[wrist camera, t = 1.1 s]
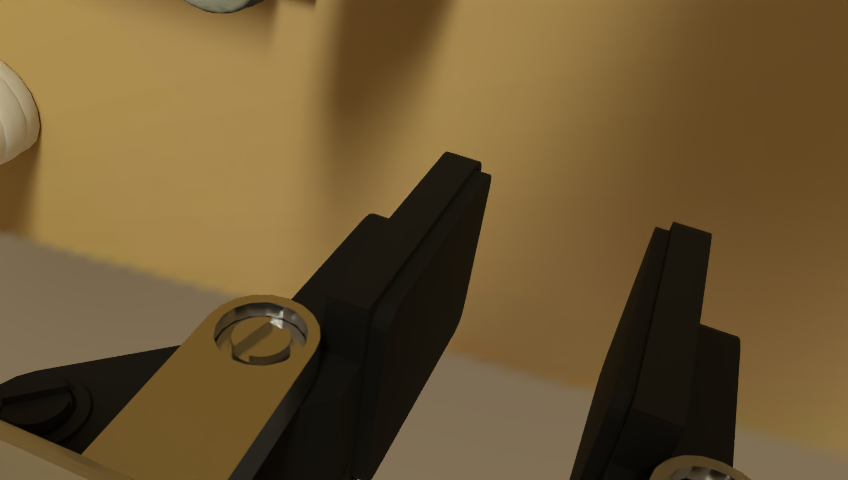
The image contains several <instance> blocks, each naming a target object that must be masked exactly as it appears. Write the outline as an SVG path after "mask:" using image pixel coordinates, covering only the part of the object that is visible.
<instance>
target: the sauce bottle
mask: <svg viewBox="0 0 848 480" xmlns="http://www.w3.org/2000/svg"><path fill="white" fill-rule="evenodd" d="M185 1H186V2H188V3H189V4H191V5H193V6H195V7H197V8H199V9H202V10H204V11H206V12H212V13H232V12H236V11H240V10H242V9H244V8H246V7H250V6H253V5H255V4H257V3H260V2H262V1H263V0H185Z"/></svg>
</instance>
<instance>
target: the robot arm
mask: <svg viewBox="0 0 848 480" xmlns="http://www.w3.org/2000/svg"><path fill="white" fill-rule="evenodd" d="M490 183H491V175H490V174H486V173H483V172H481V162H479V161H476V160H473V159H470V158H467V157H463V156H460V155H457V154H454V153H450V152H445V153H444V154H443V155H442V156H441V157H440V159H439V160H438V161H437V162H436V163H435V165H434V166H433V167H432V168H431V169H430V171H429V172H428V173H427V174H426V175H425V176H424V178H423V179H422V180H421V181H420V182H419V184H418V185H417V186H416V187H415V188H414V190H413V191H412V192H411V193H410V194H409V195H408V197H407V198H406V199H405V200H404V201H403V203H402V204H401V205H400V206H399V207H398V209H397V210H396V211H395V212H394V213H393V214H392V216H391V217H390V218H386V217H383V216H380V215H377V214H369V215H368V216H366V217H365V218H364V219H363V220H362V221H361V222H360V224H359V225H358V226H357V227H356V228H355V229H354V230H353V231H352V232H351V234H350V235H349V236H348V237H347V238H346V239H345V240H344V241H343V243H342V244H341V245H340V246H339V247H338V248H337V249H336V250H335V251H334V253H333V254H332V255H331V256H330V257H329V258H328V259H327V260H326V261H325V263H324V264H323V265H322V266H321V267H320V268H319V269H318V270H317V272H316V273H315V274H314V275H313V276H312V277H311V278H310V279H309V280H308V282H307V283H306V284H305V285H304V286H303V287H302V288H301V289H300V290H299V292H298V293H297V294H296V295H295V296H294V297H293V298H292V299H291V300H290V299H288V298H284V297H279V296H274V295H250V296H245V297H240V298H236V299H233V300H231V301H229V302H226V303H224V304H222V305H220V306H219V307H218V308H217V309H215V310H214V311H213V312H212V313H210V314H209V315H208V316H207V318H206V319H205V320H204V321H203V322H202V323H201V324H200V325H199V326H198V327H197V328H196V330H195V331H194V332H193V333H192V334H191V335H190V336H189V337H188V338H187V339H186V340H185V342H184V343H183V344H182V345H179V346H173V347H168V348H162V349H156V350H151V351H146V352H140V353H134V354H128V355H123V356H117V357H112V358H106V359H100V360H95V361H89V362H84V363H78V364H72V365H67V366H61V367H55V368H50V369H44V370H38V371H34V372H30V373H27V374H24V375H20V376H16V377H14V378H13V379H10V380H8V381H6V382H4V383H2V384H0V480H357V479H360V480H371V479H372V478H373V476H374V474H375V473H376V471H377V469H378V467H379V465H380V464H381V462H382V460H383V458H384V457H385V455H386V453H387V451H388V450H389V448H390V446H391V444H392V442H393V441H394V439H395V437H396V435H397V434H398V432H399V430H400V428H401V426H402V424H403V423H404V421H405V419H406V418H407V416H408V414H409V412H410V410H411V409H412V407H413V405H414V403H415V402H416V400H417V398H418V396H419V394H420V393H421V391H422V389H423V387H424V386H425V384H426V382H427V380H428V378H429V377H430V375H431V373H432V371H433V370H434V368H435V366H436V364H437V362H438V361H439V359H440V357H441V355H442V354H443V352H444V350H445V348H446V346H447V345H448V343H449V341H450V339H451V338H452V336H453V334H454V332H455V330H456V328H457V326H458V324H459V321H460V318H461V315H462V312H463V308H464V304H465V299H466V295H467V290H468V285H469V281H470V276H471V271H472V267H473V262H474V258H475V253H476V248H477V244H478V239H479V235H480V230H481V225H482V221H483V216H484V211H485V207H486V202H487V198H488V193H489V188H490ZM711 239H712V234H711V233H708V232H705V231H702V230H698V229H695V228H692V227H689V226H686V225H682V224H679V223H676V222H673V224H672V226H671V228H670V230H669V231H668V230H665V229H662V228H659V227H655V229H654V232H653V234H652V237H651V239H650V242H649V245H648V247H647V250H646V253H645V255H644V258H643V261H642V263H641V266H640V269H639V271H638V274H637V277H636V279H635V282H634V285H633V287H632V290H631V293H630V295H629V298H628V300H627V303H626V306H625V308H624V311H623V314H622V316H621V319H620V322H619V324H618V327H617V330H616V332H615V335H614V338H613V340H612V343H611V346H610V348H609V351H608V354H607V356H606V359H605V362H604V365H603V367H602V370H601V373H600V376H599V380H598V383H597V386H596V390H595V393H594V397H593V400H592V404H591V407H590V411H589V414H588V418H587V421H586V424H585V428H584V432H583V435H582V438H581V442H580V446H579V449H578V452H577V456H576V459H575V463H574V466H573V470H572V474H571V477H570V480H750V479H749V478H748V477H747V476H746V475H744V474H743V473H742V472H740V471H738V470H736V469H734V468H733V455H734V440H735V424H736V408H737V392H738V376H739V360H740V339H739V337H737V336H734V335H731V334H728V333H725V332H722V331H719V330H717V329H714V328H711V327H708V326H705V325H702V324H700V319H701V311H702V304H703V297H704V290H705V282H706V275H707V268H708V260H709V253H710V246H711Z"/></svg>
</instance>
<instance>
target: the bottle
mask: <svg viewBox="0 0 848 480" xmlns="http://www.w3.org/2000/svg"><path fill="white" fill-rule="evenodd" d="M39 129H40V124H39V117H38V110H37V107H36V105H35V103H34V100H33V98H32V95H31V93H30V92H29V90H28V89H27V87H26V86H25V84H24V83H23V82H22V80H21V79H20V77H19V76H18V75H17V74H16V73H14V72H13V71H12V70H11V69H10V68H9V67H8V66H7V65H6V64H5V63H3V62H1V61H0V165H1V164H4V163H6V162H8V161H10V160H11V159H13V158H15V157H16V156H17V155H18V154H20V153H22V152H24V151H25V150H27V149H29V148H30V147H31V146H32V145H33V144H34V143H35V142H36V141H37V138H38V133H39Z"/></svg>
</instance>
